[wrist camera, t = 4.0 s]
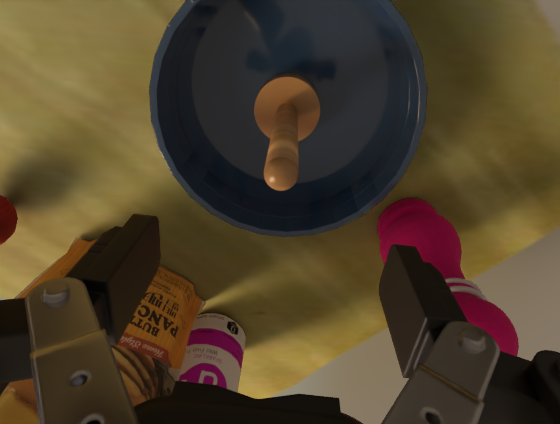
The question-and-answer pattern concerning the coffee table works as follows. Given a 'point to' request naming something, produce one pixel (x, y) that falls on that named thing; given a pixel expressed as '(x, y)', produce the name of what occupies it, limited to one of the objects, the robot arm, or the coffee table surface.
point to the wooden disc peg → (285, 124)
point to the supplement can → (214, 352)
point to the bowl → (331, 93)
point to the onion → (7, 219)
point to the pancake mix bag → (126, 339)
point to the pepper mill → (444, 263)
